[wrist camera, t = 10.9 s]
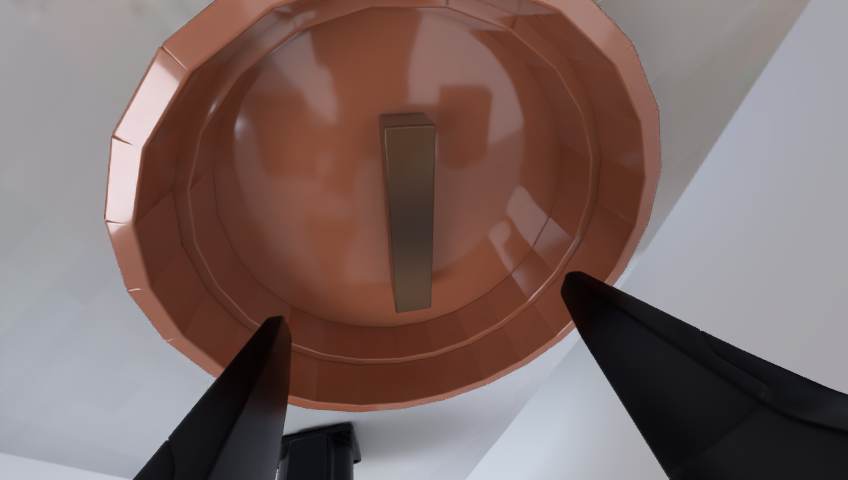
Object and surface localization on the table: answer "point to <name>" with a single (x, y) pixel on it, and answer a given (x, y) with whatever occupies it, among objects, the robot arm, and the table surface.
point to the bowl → (380, 185)
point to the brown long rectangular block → (409, 205)
